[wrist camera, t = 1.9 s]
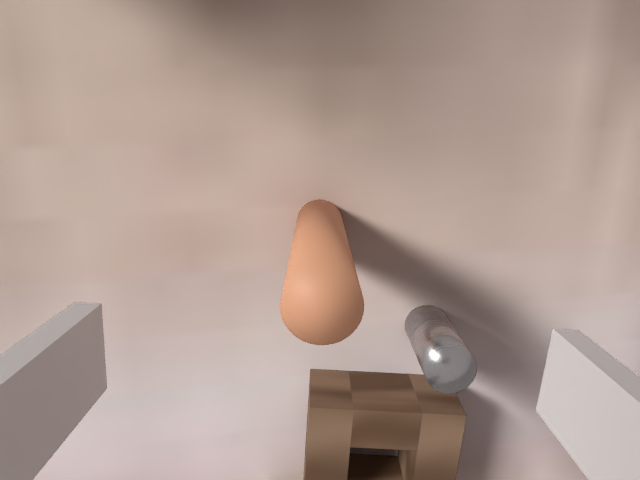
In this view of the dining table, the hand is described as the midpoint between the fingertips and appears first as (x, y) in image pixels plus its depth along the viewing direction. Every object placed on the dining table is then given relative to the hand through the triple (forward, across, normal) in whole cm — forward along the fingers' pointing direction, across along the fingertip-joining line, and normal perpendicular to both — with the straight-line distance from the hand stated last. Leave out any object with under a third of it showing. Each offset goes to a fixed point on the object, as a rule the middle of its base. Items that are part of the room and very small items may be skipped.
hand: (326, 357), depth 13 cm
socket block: (+17, +5, -16) cm, 24 cm away
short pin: (+17, +8, -7) cm, 20 cm away
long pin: (+17, 0, 0) cm, 17 cm away
